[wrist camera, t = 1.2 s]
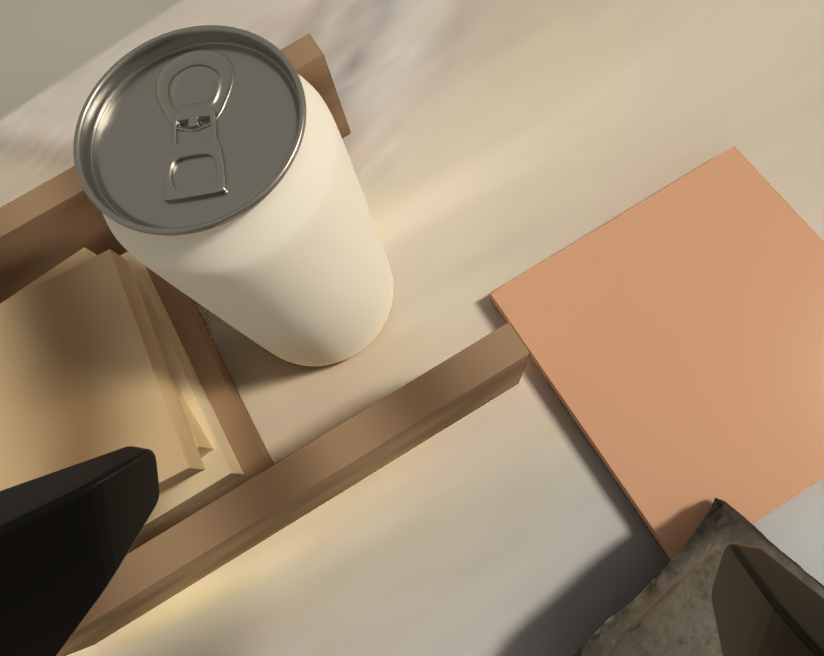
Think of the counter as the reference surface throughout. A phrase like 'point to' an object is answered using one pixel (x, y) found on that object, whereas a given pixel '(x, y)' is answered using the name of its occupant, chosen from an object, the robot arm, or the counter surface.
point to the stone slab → (684, 595)
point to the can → (237, 191)
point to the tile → (688, 346)
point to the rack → (178, 394)
